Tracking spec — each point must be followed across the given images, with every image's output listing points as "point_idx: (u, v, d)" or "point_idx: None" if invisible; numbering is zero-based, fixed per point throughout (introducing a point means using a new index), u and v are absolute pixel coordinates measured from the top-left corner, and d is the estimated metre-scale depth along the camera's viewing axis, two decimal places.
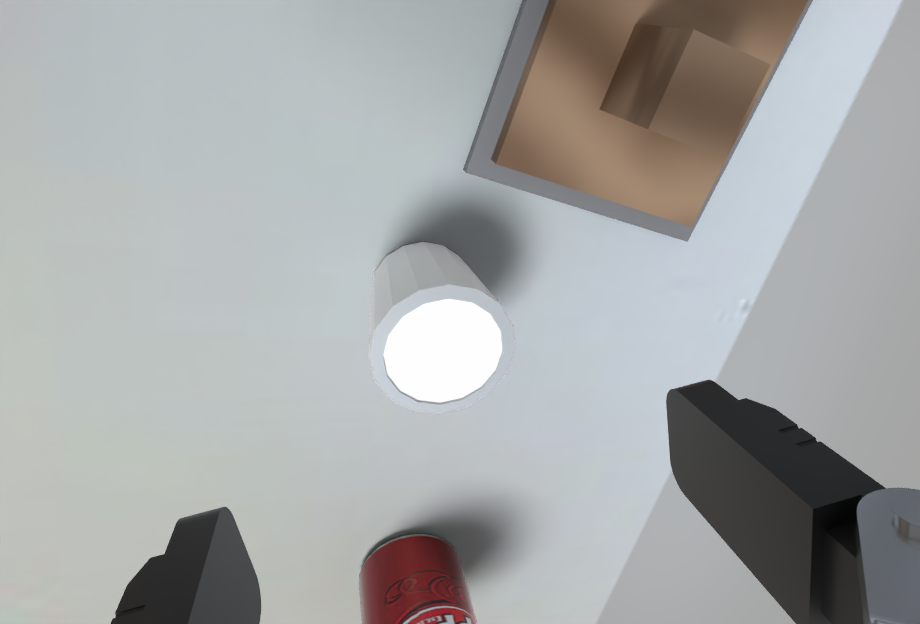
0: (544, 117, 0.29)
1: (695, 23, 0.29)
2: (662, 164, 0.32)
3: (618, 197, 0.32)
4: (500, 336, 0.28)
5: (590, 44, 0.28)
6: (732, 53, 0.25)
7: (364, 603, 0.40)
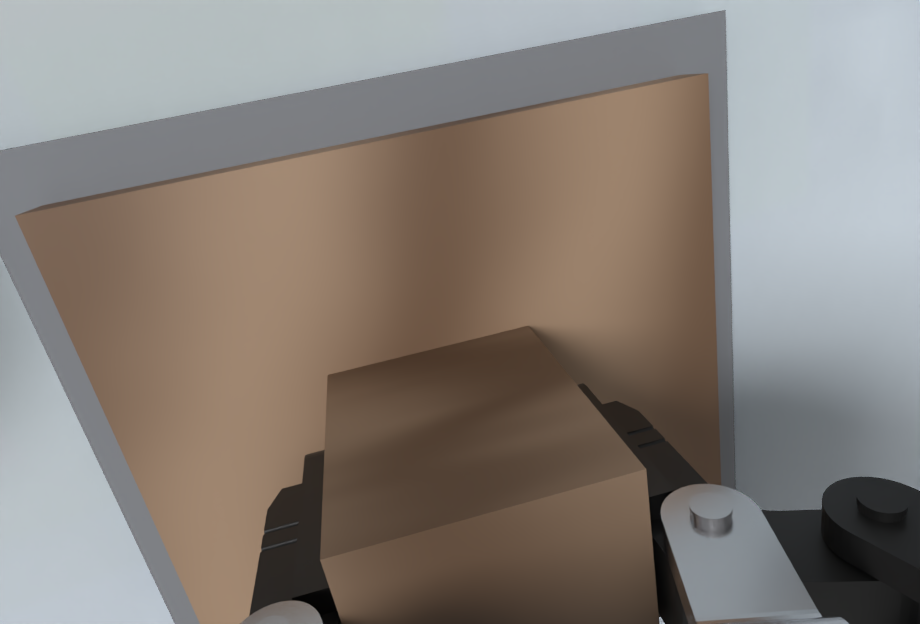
0: (221, 264, 0.11)
1: None
2: None
3: (184, 551, 0.12)
4: None
5: (435, 261, 0.11)
6: (642, 602, 0.08)
7: None
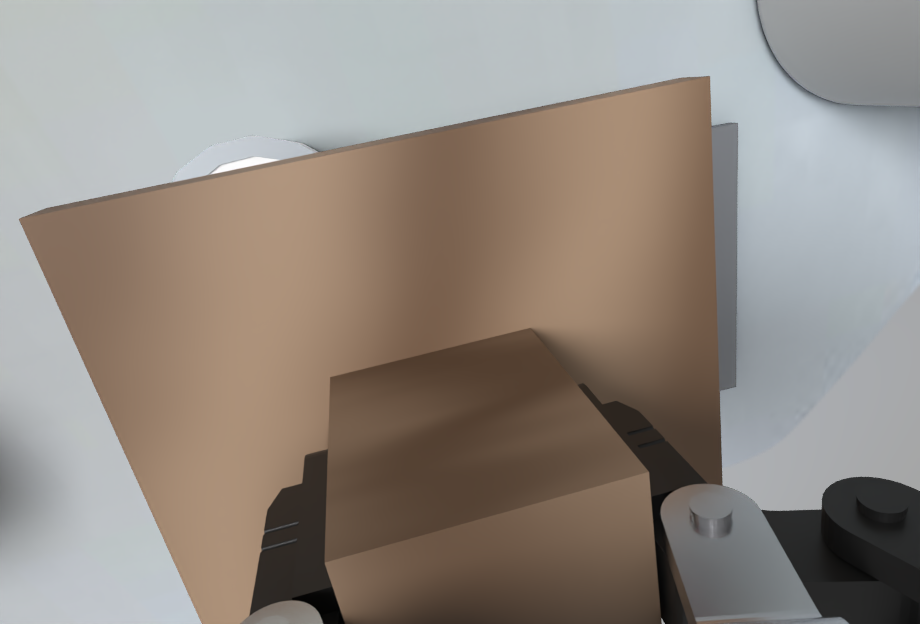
0: (224, 267, 0.11)
1: None
2: None
3: (187, 553, 0.12)
4: None
5: (438, 263, 0.11)
6: (645, 604, 0.08)
7: None
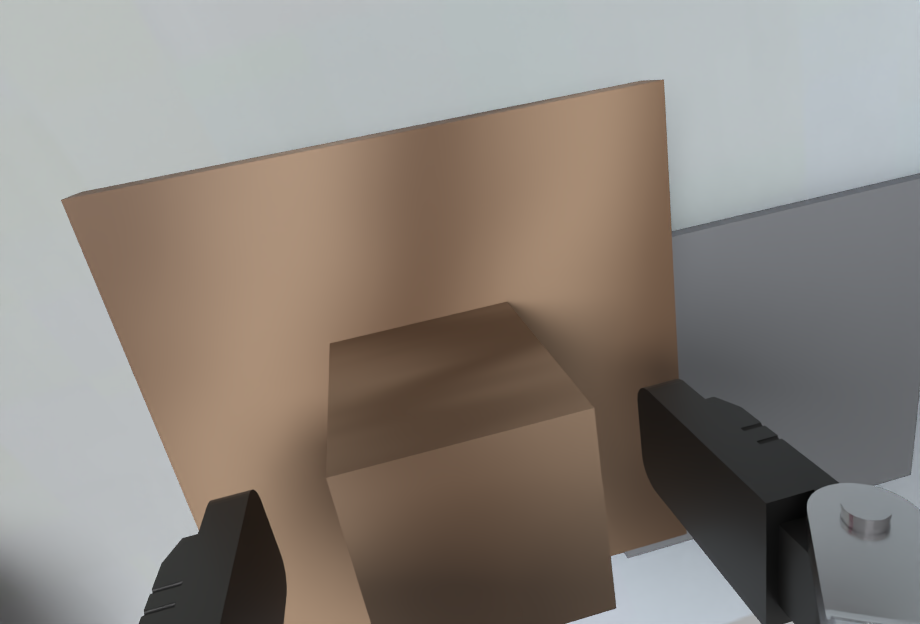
0: (237, 244, 0.12)
1: None
2: (319, 527, 0.15)
3: (201, 500, 0.14)
4: None
5: (424, 243, 0.13)
6: (594, 523, 0.10)
7: None
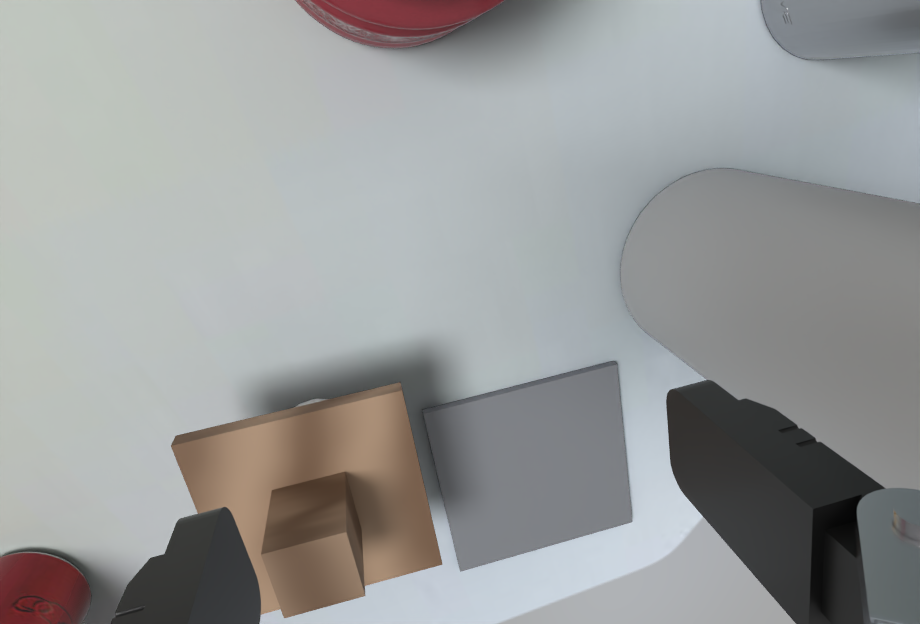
0: (235, 456, 0.32)
1: (375, 508, 0.35)
2: None
3: None
4: None
5: (309, 452, 0.33)
6: (352, 567, 0.30)
7: None
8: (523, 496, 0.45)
